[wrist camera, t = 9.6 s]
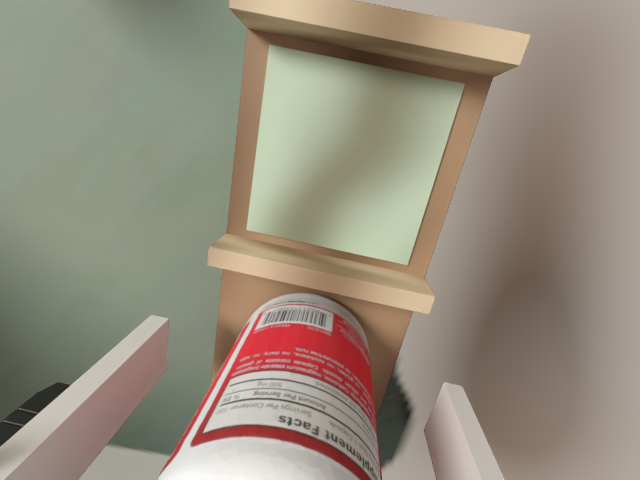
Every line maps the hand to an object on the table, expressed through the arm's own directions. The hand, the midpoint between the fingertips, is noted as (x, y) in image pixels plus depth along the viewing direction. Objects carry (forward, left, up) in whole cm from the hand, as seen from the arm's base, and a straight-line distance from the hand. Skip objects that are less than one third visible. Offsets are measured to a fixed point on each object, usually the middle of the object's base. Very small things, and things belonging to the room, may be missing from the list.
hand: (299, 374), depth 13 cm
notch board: (0, +4, -3) cm, 6 cm away
